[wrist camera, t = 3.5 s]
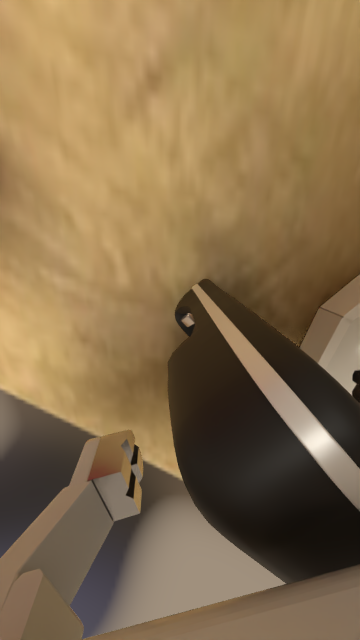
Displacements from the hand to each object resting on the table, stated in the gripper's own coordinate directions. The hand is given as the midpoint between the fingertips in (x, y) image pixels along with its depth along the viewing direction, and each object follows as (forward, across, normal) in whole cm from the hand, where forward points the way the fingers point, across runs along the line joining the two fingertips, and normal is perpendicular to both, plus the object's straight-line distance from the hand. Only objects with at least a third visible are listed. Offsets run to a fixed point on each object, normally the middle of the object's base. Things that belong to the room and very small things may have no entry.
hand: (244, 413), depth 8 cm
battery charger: (+7, -1, 0) cm, 7 cm away
